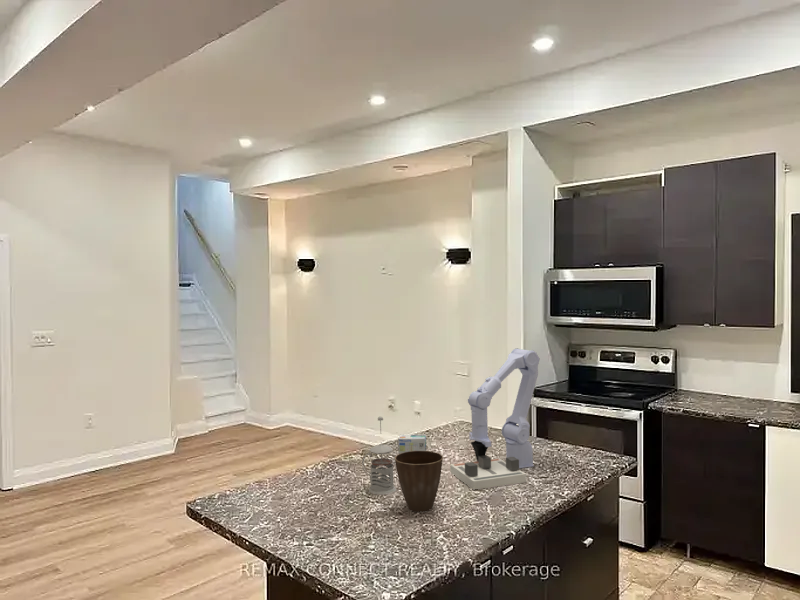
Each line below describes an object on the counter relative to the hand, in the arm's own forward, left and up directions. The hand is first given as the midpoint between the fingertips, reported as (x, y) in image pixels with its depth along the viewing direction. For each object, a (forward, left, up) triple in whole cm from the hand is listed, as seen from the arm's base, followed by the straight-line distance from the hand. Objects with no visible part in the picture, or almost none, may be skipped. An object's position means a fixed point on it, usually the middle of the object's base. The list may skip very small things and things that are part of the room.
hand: (480, 461), depth 217 cm
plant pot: (+32, +23, -4) cm, 40 cm away
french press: (+39, +2, -4) cm, 39 cm away
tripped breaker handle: (0, +3, -1) cm, 4 cm away
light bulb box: (+19, -21, -4) cm, 29 cm away
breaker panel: (0, +5, -4) cm, 7 cm away
